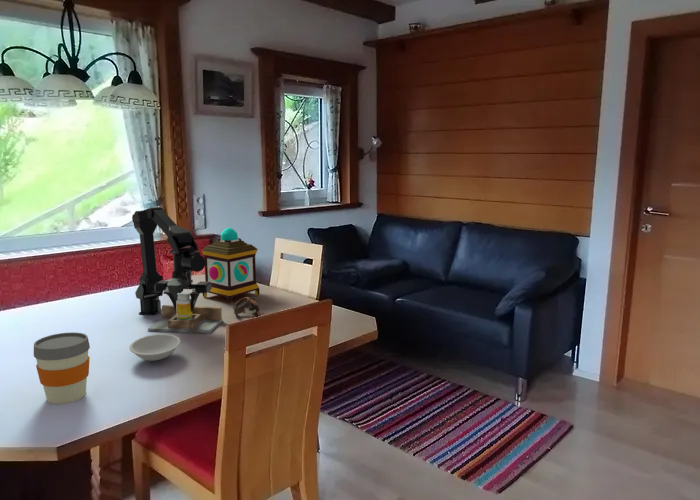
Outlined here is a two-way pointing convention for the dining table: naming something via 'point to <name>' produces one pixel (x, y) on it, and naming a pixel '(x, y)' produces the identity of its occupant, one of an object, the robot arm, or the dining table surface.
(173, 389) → the dining table surface
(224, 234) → the decorative lantern
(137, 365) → the dining table surface
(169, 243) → the robot arm
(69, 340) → the reusable coffee cup
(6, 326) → the dining table surface
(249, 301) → the grey-brown curved piece
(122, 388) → the dining table surface
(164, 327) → the board
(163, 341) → the dish
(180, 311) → the supplement bottle
